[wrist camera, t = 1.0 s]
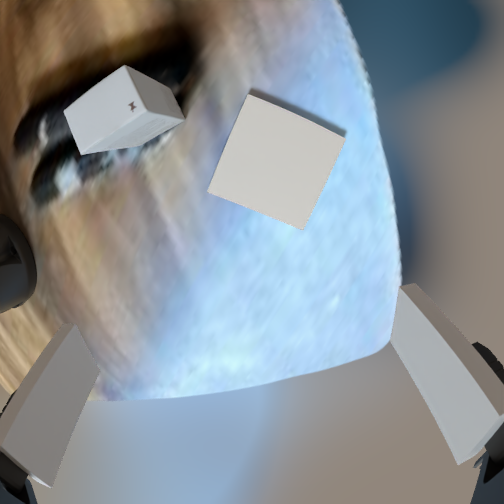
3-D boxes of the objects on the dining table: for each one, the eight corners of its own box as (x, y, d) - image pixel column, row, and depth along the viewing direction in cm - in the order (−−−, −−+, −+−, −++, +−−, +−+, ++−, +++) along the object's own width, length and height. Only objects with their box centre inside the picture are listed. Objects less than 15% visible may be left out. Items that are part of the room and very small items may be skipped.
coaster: (208, 190, 30) (207, 192, 29) (247, 95, 26) (248, 94, 25) (301, 228, 32) (302, 230, 31) (343, 138, 28) (346, 138, 27)
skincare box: (170, 87, 26) (127, 61, 14) (186, 120, 27) (150, 111, 16) (122, 115, 26) (60, 110, 15) (138, 147, 28) (81, 157, 17)
